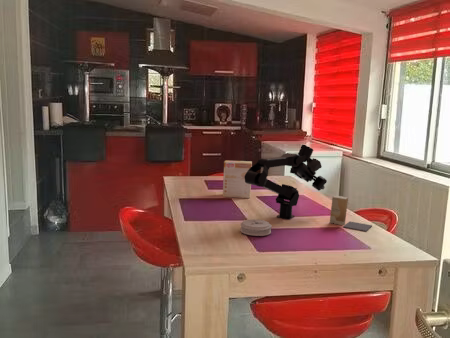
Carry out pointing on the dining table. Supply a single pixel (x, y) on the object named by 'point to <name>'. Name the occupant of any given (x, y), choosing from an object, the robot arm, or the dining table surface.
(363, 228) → the pad
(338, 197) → the skincare box
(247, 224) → the lid
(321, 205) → the dining table surface
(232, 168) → the coffeecake box
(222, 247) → the dining table surface
